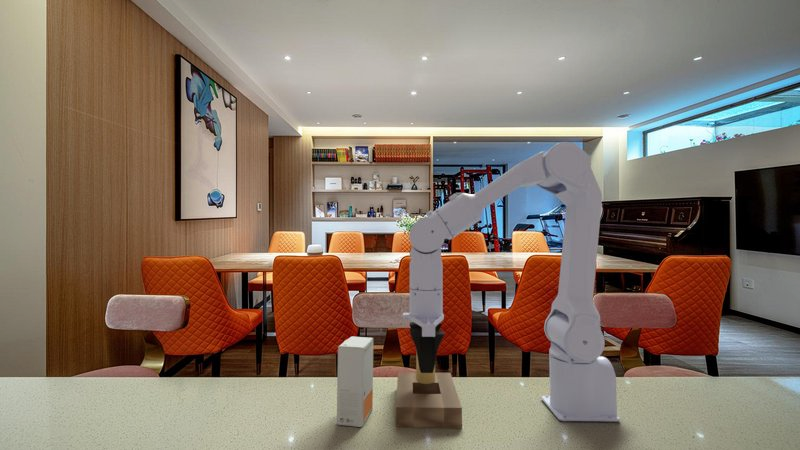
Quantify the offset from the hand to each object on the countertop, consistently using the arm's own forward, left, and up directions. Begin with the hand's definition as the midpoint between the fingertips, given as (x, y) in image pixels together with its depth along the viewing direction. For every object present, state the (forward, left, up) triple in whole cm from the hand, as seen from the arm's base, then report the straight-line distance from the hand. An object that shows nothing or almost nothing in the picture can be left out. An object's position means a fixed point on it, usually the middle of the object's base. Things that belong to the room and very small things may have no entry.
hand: (426, 368), depth 61 cm
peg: (0, 0, -2) cm, 2 cm away
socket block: (0, 0, -6) cm, 6 cm away
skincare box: (+11, +4, -7) cm, 14 cm away
